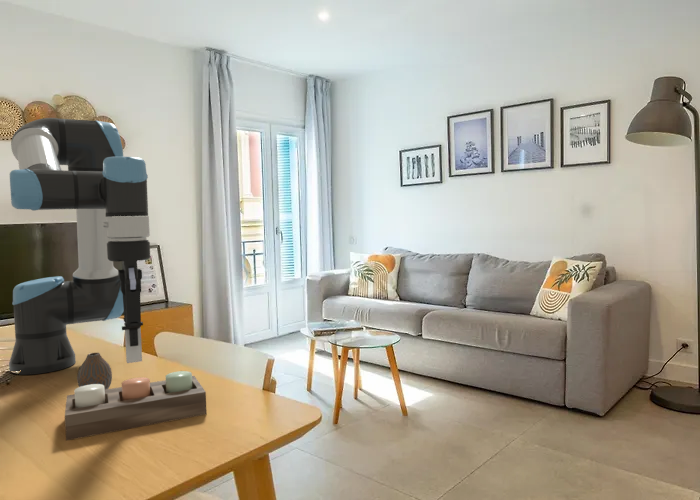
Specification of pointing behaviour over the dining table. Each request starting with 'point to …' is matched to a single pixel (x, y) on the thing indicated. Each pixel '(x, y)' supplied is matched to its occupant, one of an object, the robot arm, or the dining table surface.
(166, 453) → the dining table surface
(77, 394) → the button cream
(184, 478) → the dining table surface
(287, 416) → the dining table surface
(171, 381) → the button sage
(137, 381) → the button terracotta
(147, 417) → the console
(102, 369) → the vase
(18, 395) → the dining table surface
